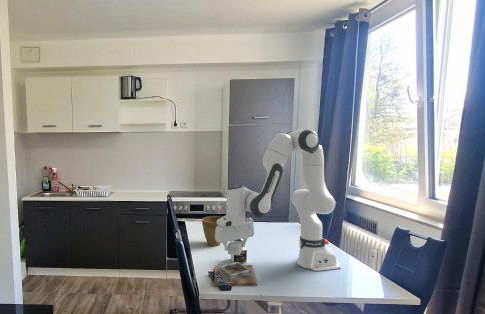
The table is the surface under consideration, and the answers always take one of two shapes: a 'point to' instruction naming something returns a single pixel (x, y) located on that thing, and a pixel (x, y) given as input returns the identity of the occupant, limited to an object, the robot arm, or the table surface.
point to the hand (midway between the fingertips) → (235, 248)
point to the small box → (235, 247)
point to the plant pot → (210, 229)
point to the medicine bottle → (242, 257)
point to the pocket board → (240, 281)
